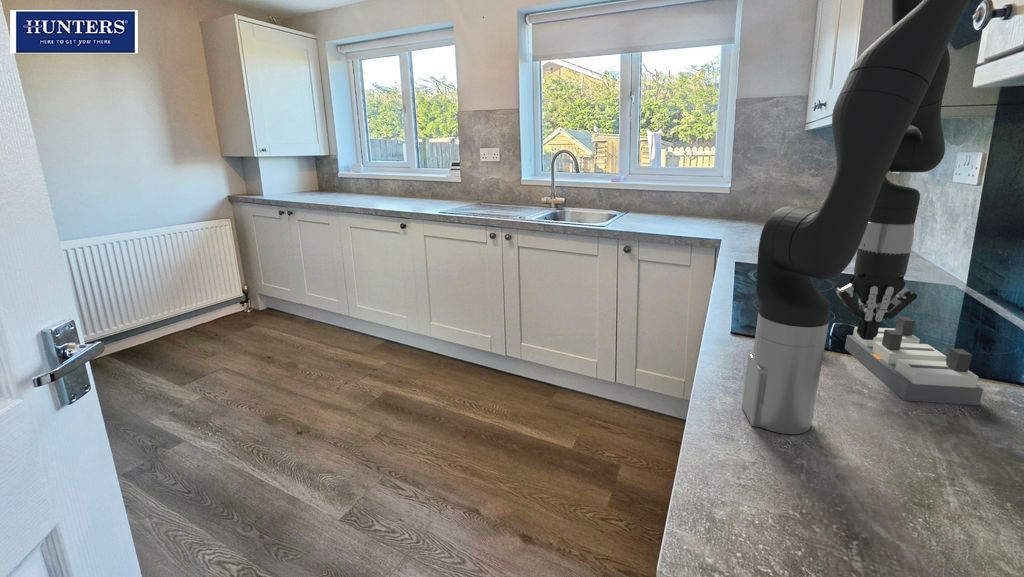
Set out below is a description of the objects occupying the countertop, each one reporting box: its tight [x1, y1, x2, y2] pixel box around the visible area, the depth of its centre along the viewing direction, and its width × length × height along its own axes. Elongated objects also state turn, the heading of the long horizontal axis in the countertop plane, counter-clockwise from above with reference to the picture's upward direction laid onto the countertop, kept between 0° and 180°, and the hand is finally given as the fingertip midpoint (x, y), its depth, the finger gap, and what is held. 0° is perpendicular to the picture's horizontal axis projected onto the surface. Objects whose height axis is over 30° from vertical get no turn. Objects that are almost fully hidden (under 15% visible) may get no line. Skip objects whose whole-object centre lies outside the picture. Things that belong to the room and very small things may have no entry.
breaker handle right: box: [946, 348, 973, 372], centre depth 82 cm, size 2×2×3 cm
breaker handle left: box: [894, 316, 916, 336], centre depth 97 cm, size 2×2×3 cm
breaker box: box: [844, 326, 984, 406], centre depth 92 cm, size 11×22×5 cm, turn 169°
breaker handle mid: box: [882, 330, 903, 350], centre depth 91 cm, size 2×2×3 cm
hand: (866, 338), depth 92 cm, fingers closed
